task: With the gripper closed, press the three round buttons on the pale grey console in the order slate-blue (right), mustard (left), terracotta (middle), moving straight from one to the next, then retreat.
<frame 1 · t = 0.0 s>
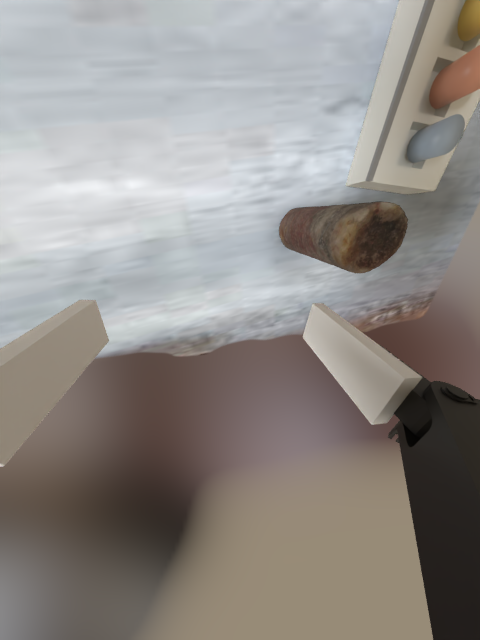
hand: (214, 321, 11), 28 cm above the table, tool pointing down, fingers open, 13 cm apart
brown rounded bar: (295, 230, 36), on the table
console: (407, 108, 29), on the table
button slate: (433, 141, 26), point 7 cm above the table, slide at 0.0 cm
button terracotta: (461, 77, 23), point 7 cm above the table, slide at 0.0 cm
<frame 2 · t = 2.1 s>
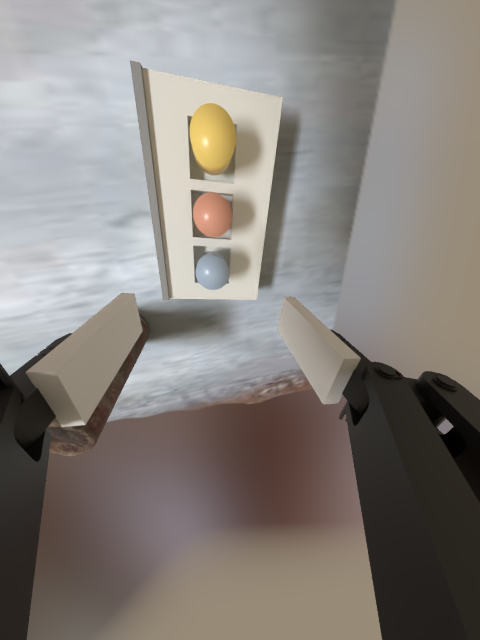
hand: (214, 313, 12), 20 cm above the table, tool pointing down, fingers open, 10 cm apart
brown rounded bar: (130, 327, 33), on the table
button mustard: (212, 144, 17), point 7 cm above the table, slide at 0.0 cm
console: (212, 217, 26), on the table
button slate: (212, 269, 23), point 7 cm above the table, slide at 0.0 cm
button terracotta: (212, 216, 20), point 7 cm above the table, slide at 0.0 cm
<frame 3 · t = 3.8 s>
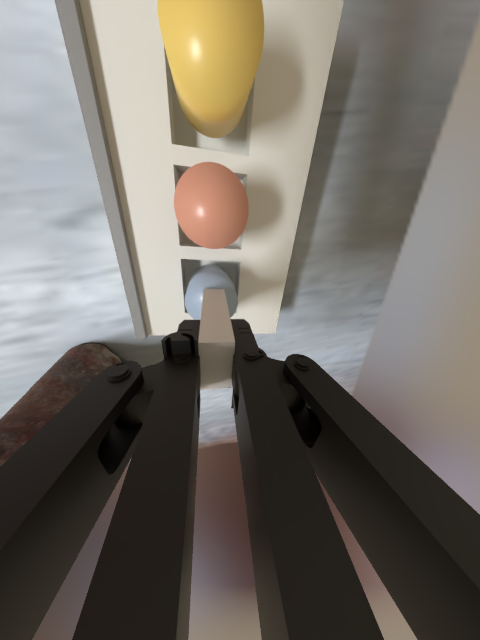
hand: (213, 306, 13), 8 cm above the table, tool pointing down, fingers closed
brown rounded bar: (100, 363, 25), on the table
button mustard: (212, 64, 9), point 7 cm above the table, slide at 0.0 cm
console: (210, 213, 18), on the table
button slate: (211, 293, 15), point 6 cm above the table, slide at 1.2 cm, touching gripper
button terracotta: (212, 211, 11), point 7 cm above the table, slide at 0.0 cm
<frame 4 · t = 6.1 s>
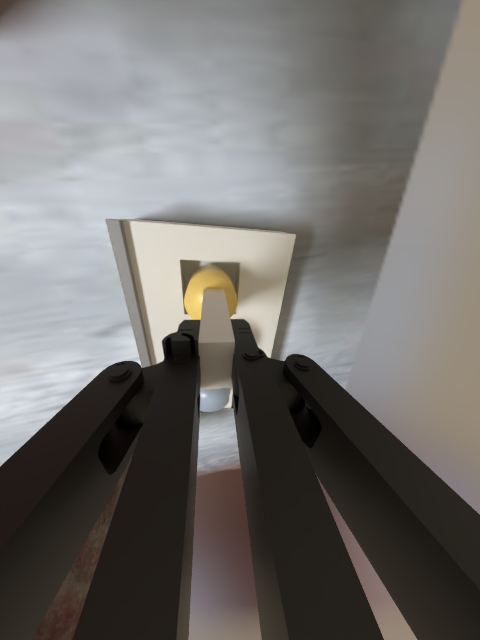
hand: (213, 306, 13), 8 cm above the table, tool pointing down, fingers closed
brown rounded bar: (120, 418, 30), on the table
button mustard: (211, 293, 15), point 6 cm above the table, slide at 1.4 cm, touching gripper
console: (210, 320, 23), on the table
button slate: (210, 386, 22), point 5 cm above the table, slide at 1.9 cm
button terracotta: (211, 358, 17), point 7 cm above the table, slide at 0.0 cm
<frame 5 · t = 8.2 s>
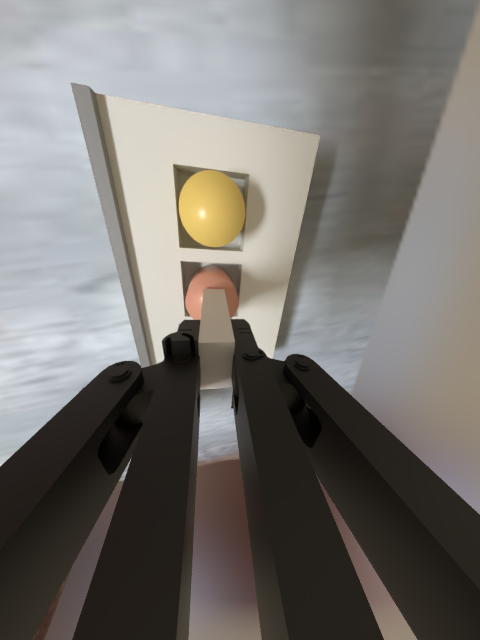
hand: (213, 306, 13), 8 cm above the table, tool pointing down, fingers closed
brown rounded bar: (110, 396, 27), on the table
button mustard: (212, 213, 13), point 5 cm above the table, slide at 1.9 cm
console: (211, 276, 20), on the table
button terracotta: (212, 294, 15), point 6 cm above the table, slide at 1.7 cm
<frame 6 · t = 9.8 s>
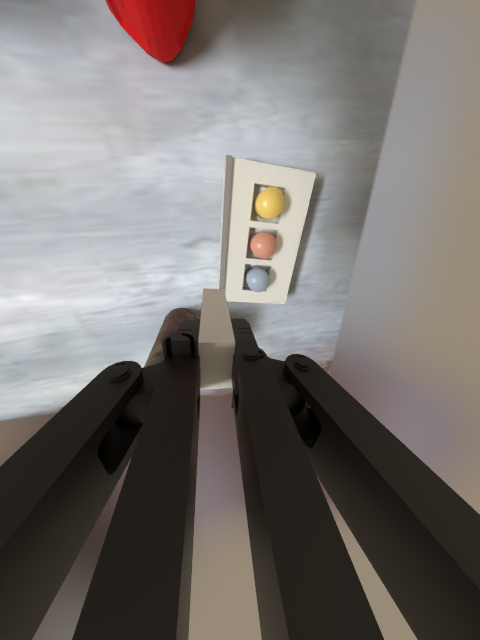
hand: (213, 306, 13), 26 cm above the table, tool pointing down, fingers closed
brown rounded bar: (182, 322, 42), on the table
button mustard: (268, 204, 28), point 5 cm above the table, slide at 1.9 cm
console: (255, 242, 36), on the table
button slate: (256, 278, 34), point 5 cm above the table, slide at 1.9 cm
button terracotta: (261, 244, 31), point 5 cm above the table, slide at 1.9 cm
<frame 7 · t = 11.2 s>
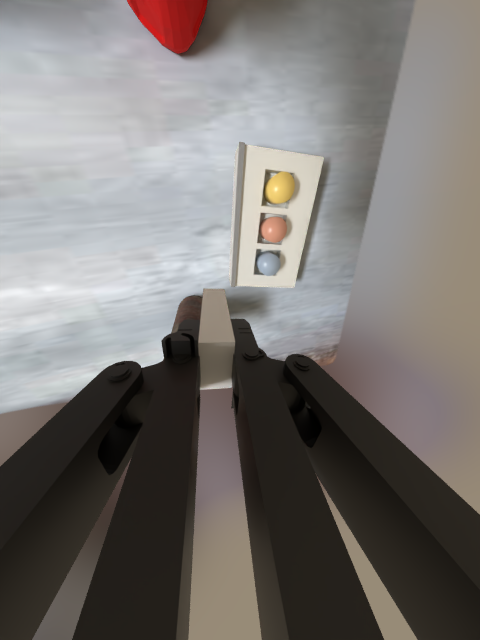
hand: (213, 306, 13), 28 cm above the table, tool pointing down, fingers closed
brown rounded bar: (194, 309, 44), on the table
button mustard: (278, 189, 30), point 5 cm above the table, slide at 1.9 cm
console: (264, 228, 37), on the table
button slate: (267, 263, 36), point 5 cm above the table, slide at 1.9 cm
button terracotta: (272, 229, 33), point 5 cm above the table, slide at 1.9 cm
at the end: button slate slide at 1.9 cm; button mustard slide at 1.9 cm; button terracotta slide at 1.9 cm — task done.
